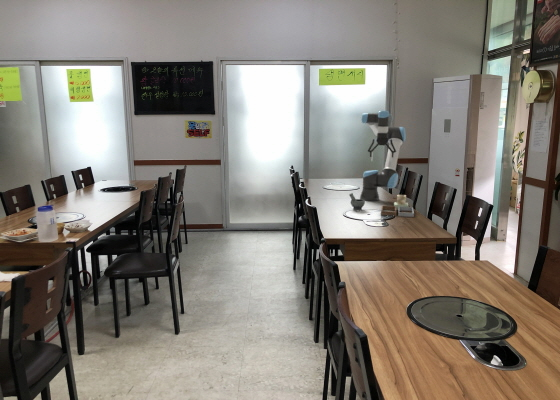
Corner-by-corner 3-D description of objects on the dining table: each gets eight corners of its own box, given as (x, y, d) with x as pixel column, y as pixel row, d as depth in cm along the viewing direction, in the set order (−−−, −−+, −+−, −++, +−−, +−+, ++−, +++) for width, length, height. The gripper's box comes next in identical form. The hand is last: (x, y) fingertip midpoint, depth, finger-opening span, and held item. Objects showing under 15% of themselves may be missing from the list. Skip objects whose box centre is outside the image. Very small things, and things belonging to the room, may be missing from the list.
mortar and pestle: (363, 208, 328) (364, 192, 326) (365, 211, 319) (365, 194, 316) (348, 208, 329) (348, 191, 326) (349, 210, 320) (349, 194, 317)
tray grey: (398, 209, 324) (398, 206, 324) (412, 210, 322) (412, 207, 321) (398, 215, 305) (398, 212, 305) (413, 216, 303) (414, 213, 302)
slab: (393, 206, 335) (394, 202, 335) (407, 207, 333) (408, 202, 332) (393, 209, 326) (394, 204, 325) (408, 210, 323) (408, 205, 323)
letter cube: (396, 204, 326) (397, 196, 325) (396, 202, 332) (397, 194, 331) (405, 204, 325) (406, 196, 324) (405, 203, 331) (406, 195, 330)
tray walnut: (381, 209, 327) (381, 205, 326) (395, 209, 324) (396, 206, 324) (380, 214, 308) (381, 211, 307) (396, 215, 305) (396, 212, 305)
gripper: (365, 132, 326) (364, 161, 330) (400, 133, 322) (399, 162, 326) (365, 132, 333) (364, 160, 338) (400, 132, 329) (398, 161, 333)
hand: (381, 161), depth 332 cm, fingers open, 13 cm apart
